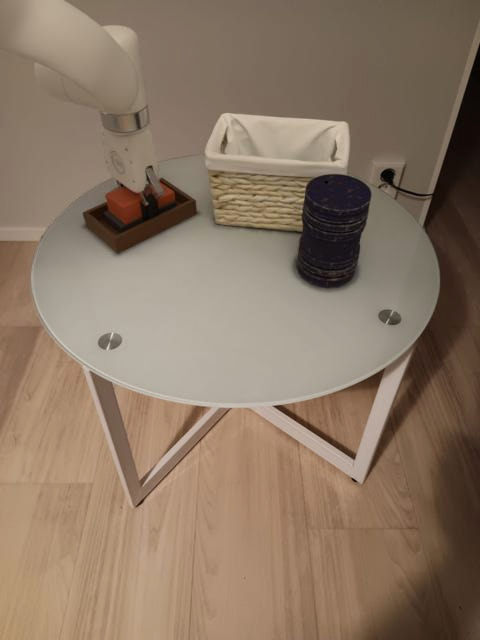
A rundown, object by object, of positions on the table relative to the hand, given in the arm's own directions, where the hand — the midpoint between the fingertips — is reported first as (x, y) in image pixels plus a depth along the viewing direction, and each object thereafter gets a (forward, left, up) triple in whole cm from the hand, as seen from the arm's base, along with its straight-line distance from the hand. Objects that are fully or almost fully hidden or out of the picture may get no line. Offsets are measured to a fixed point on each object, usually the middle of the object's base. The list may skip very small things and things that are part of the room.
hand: (140, 211), depth 93 cm
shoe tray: (0, 0, -2) cm, 2 cm away
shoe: (0, 0, -1) cm, 1 cm away
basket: (+21, -14, -2) cm, 25 cm away
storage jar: (+15, -32, -2) cm, 35 cm away
